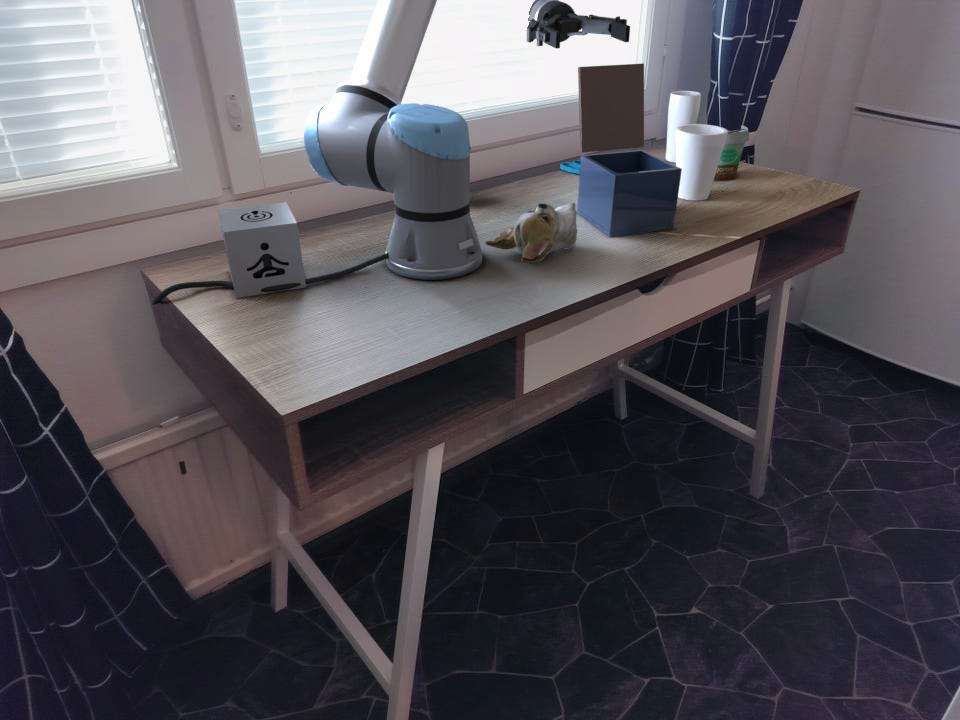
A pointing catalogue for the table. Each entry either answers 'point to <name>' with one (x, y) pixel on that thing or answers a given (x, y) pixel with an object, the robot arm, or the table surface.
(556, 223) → the ceramic sculpture
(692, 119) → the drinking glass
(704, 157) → the foam cup
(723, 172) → the food container
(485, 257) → the table surface
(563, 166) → the scissors
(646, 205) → the box
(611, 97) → the caddy lid
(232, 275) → the icon cube
